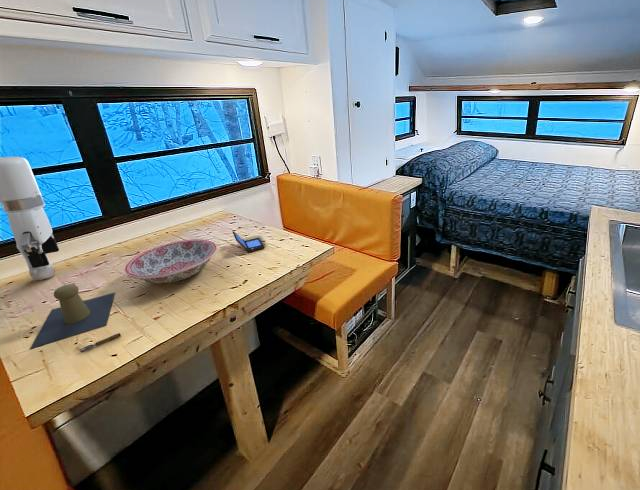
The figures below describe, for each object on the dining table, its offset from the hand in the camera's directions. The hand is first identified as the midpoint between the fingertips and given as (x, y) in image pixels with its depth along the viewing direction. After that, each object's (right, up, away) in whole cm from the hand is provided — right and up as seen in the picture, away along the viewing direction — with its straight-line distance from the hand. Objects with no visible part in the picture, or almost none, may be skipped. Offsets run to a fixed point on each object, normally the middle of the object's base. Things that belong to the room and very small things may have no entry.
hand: (46, 258), depth 88 cm
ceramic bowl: (+18, -11, +30) cm, 37 cm away
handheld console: (+37, -3, +50) cm, 62 cm away
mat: (+2, -19, +7) cm, 21 cm away
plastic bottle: (-33, -12, +29) cm, 46 cm away
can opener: (+19, -23, -4) cm, 30 cm away
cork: (+2, -19, +7) cm, 21 cm away
